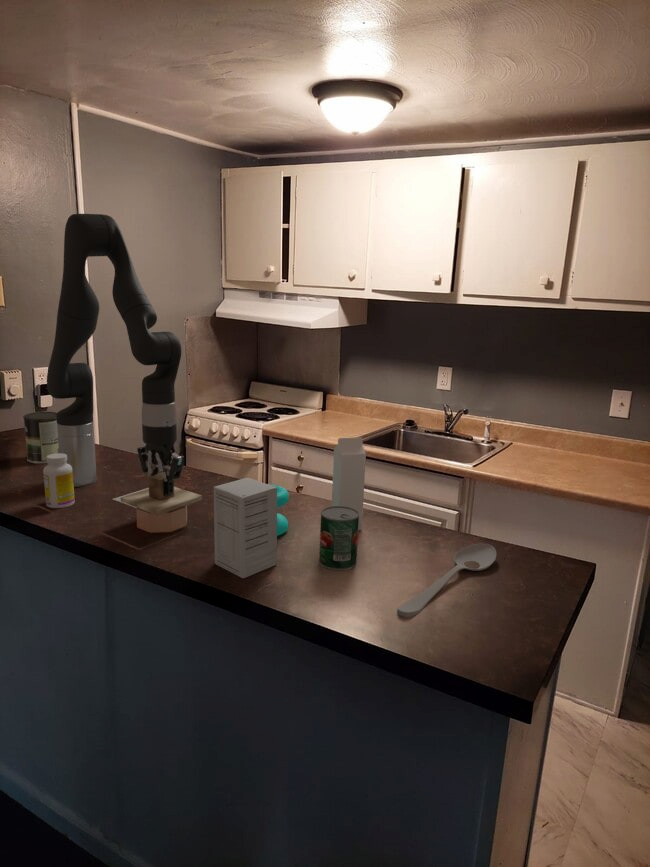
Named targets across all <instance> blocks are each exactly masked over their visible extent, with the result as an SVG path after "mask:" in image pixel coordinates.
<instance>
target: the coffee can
mask: <svg viewBox="0 0 650 867" xmlns="http://www.w3.org/2000/svg"><path fill="white" fill-rule="evenodd" d="M57 413H58V412H56V411H55V412H54V411H37V412H30V413H29V412H28V413H26V414H25V415H23V416H22V417H23V423H24V433H25V445H26V458H27V459H26V460H27V462H28V463H31V464H36V465H37V464H39V465H42V464H43V465H44V464H48V463H47V459H46V457H47V456H48V455H51V454H58V448H59V446H58V432H57V420H56V415H57Z"/></svg>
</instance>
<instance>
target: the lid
mask: <svg viewBox="0 0 650 867" xmlns="http://www.w3.org/2000/svg"><path fill="white" fill-rule="evenodd" d="M168 475H169V473H167V476H168ZM147 476H148V475H147ZM147 478H148V488H149V489H147V490H143V489H142V490H143V491H140V490H139V491H140V492H137V493H134V494H130V493H129V494H130V495H127V494H126V495H127V496H124V497H121V502H123V503H122V504H124V503H126V504H128V505H127V506H129V505H131V506H130V507H132V506H134V507H137V508H139V509H142V510H145V511H148V512H150V513H153V514H156V515H161V514H163V513H166V512H169V511H172V510H175V509H177V508H180V507H183V506H186V505H187V506H189V505H191V504H193V503H197V502H199V501H203V495H202V494H199V493H195V492H192V491H189V490H185V489H182V488H179V487H176V486H175V479H174V480H173V494H172V495H171V496H168V497H165V496H164V493H163V481H164V480H163V476H162V472H159V473H158V474H155V475H151V476H148V477H147ZM121 502H120V503H121ZM126 504H125V505H126ZM134 507H133V508H134Z"/></svg>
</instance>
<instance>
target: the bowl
mask: <svg viewBox="0 0 650 867" xmlns="http://www.w3.org/2000/svg"><path fill="white" fill-rule="evenodd" d="M135 511H136V529H140V530H142V531H145V532H148V533H150V534H151V533H172V532H174V531H176V530H179V529H182V528H185V527H187V522H188V505H186V506H183V507H180V508H177V509H175V510H172V511H169V512H166V513H163V514H161V515H156V514H153V513H150V512H148V511H145V510H142V509H139V508H135Z"/></svg>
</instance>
